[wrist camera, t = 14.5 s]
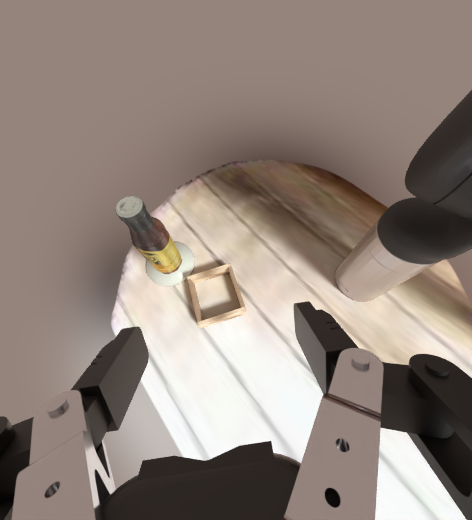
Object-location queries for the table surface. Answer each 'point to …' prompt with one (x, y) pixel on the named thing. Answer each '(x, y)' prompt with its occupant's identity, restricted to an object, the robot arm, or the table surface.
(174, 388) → the table surface
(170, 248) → the sauce bottle
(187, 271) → the trivet
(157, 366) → the table surface
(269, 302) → the table surface
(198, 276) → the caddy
